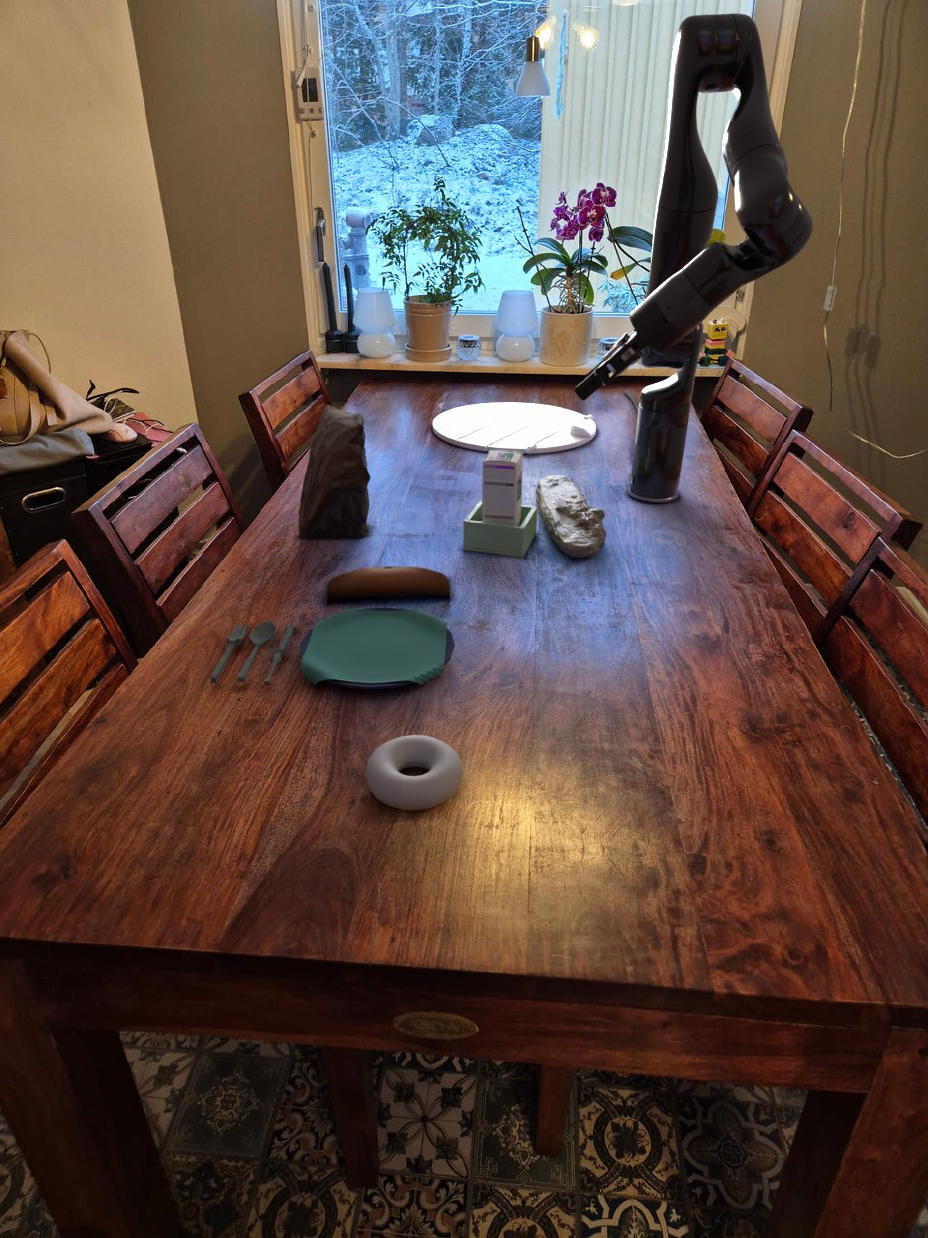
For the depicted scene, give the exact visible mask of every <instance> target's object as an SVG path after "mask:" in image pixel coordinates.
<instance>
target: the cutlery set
mask: <svg viewBox="0 0 928 1238" xmlns="http://www.w3.org/2000/svg"><path fill="white" fill-rule="evenodd" d="M249 625H250V624H249V623H246V624H245V623H244V622H242V623H241V622H237V624H236V626H235V628H234V629H233V630H232V632H231V633H230V634H229V635H228V637H226V643H227V646H226V649H225V651H224V654H223V655H222V657H221V659H220V661H219V662H218V664H217V666H216V667H215V668H214V670H213V672H212V674H211V676H210V677H209V680H210V684H217V682H218V681H219V679H220V676H221V675H222V672H223V671H224V669H225V667H226V666H227V664H228V662H229V660H230V658H231V655H232V653H233V651H234V648H237V647H238V646H240V645H241V644H243V641H244V638H245V635H246V633H247V630H248V628H249ZM276 629H277V627H276V625H275V624H274V622H272V621H263V622H261V623H259V624H257V625H256V626H254V628H253V629H252V630H251V631H250V632H249V633H250V634H249V639H250V641H251V642H252V643H253V644H254V645H255V647H254V648H253V650H252V652H251V653H250V655H249V656H248V657H247V660H246V662H245V663H244V665H243V667H242V669H241V670H240V673H239V675H238V676H237V683H246V680H247V677H248V674H249V672H250V671H251V670H250V669H251V667H252V666H253V665H252V664H253V662H254V660H255V658H256V656H257V653H258V651H259V649H260V648H261V647H262V646H263V645H264V644H266V643H268V642H270V641H272V640H273V638H274V637H275V636H276V632H277V631H276ZM293 632H294V625H293V623H291V622H289V623H288V625H287V627H286V630H285V631H284V635H283V637H282V640H281V642H280V644H279V647H278V648H277V649H274V654H272V663H271V666H270V669H269V673H268V675H267V677H266V679H265V680H264V681H263V684H264V687H270V686H271V680H272V676H273V674H274V671H275V670H276V669H277V668H276V667H277V665H278V663H279V662H281V661H282V658H284V657H285V650H286V648H287V647H288V645H289V643H290V640H291V637H292V636H293ZM455 648H456V644H455V640H454V636H453V633H452V632H451V631H450V629H449V628H448V622H446V621H445V620H443V619H441V618H439V617H438V616H436V615H434V614H432V613H430V612H427V611H425V610H423V609H419V608H410V609H408V608H399V607H388V606H384V607H383V606H382V607H366V608H347V609H345V610H342V611H340V612H337V613H334V614H333V615H329V616H327V617H325V618H322V619H321V620H318V621H316V622H315V623H314V625H313V627H312V628H311V629H309V630H308V631H307V632H306V634H305V636H304V637H303V639H301V641H300V647H299V657H300V660H301V662H300V669H301V673H302V675H303V676H304V677H305V678H306V680H308V681H309V682H310V683H311V684H313V685H315V686H316V685H317V684H318V683H319V682H321V681H324V682H326V683H327V682H328V683H330V684H333V685H337V686H339V687H343V688H351V689H361V690H381V689H396V688H399V687H402V686H407V685H410V684H414V683H417V684H419V685H421V686H422V685H423V684H426V683H428V682H429V681H432V680H434V679H436V678H438V677H441V675H442V673H443V672H444V667H445V665H447V663H448V662H450V661H451V658H452V656H453V652H454V650H455Z"/></svg>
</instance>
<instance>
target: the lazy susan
mask: <svg viewBox="0 0 928 1238" xmlns="http://www.w3.org/2000/svg"><path fill="white" fill-rule="evenodd" d="M593 419H594V415H592V414H590V413H589V414H587V415H584V414H582V413H580V412H577V411H574V410H571V409H567V408H563V407H560V406H554V405H549V404H541V403H532V402H511V401H509V402H507V401H506V402H485V403H484V402H483V403H474V404H468V405H462V406H458V407H453V408H451V409H448V410H445V411H443V412H441V413H440V414H437V416H435V418H433V420H432V431H433V433H434V435H436V436H437V437H438V438H439V439H441V440H443V441H445V442H447V443H448V444H452V445H455V446H457V447H460V448H465V449H468V450H474V451H479V452H487V453H489V451H490V450H491V451H495V450H506V451H515V452H521V453H522V454H523V455H524V454H527V455H534V454H545V453H554V452H555V453H556V452H561V451H566V450H571V449H575V448H578V447H581V446H583V445H585V444H588V443H589V442H590V441H592V440H593V439H594V438H595V436H596V432H597V425H596V423H595V422H594V420H593Z"/></svg>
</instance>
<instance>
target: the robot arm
mask: <svg viewBox="0 0 928 1238" xmlns="http://www.w3.org/2000/svg"><path fill="white" fill-rule="evenodd" d="M758 30H759V29H758V26H757V25H756V23H755V21H754V19H753V18H752V17H751V16H749V15H747V14H745V13H739V12H738V13H735V12H733V13H732V12H731V13H715V14H696V15H689V16H686V17H685V18H684V19H683V21H681V23H680V25H679V27H678V30H677V32H676V35H675V40H674V45H673V50H672V59H671V67H670V68H671V69H670V81H669V95H668V96H669V99H668V113H667V114H668V115H667V127H666V128H667V129H666V139H665V149H664V158H663V163H662V171H661V178H660V184H659V190H658V196H657V203H656V211H655V219H654V226H653V227H654V228H653V235H652V236H653V237H652V248H651V257H650V266H649V273H648V274H649V275H648V281H647V287H646V292H645V298H644V300H643V301H642V302H640V304H638V305H637V306H636V307H635V308H634V309H633V310H632V311H630V313H629V320H630V323H631V325H632V327H633V330H632V331H631V332H630V333H628V332H625V333H624V334H623V335H622V336H620V338H618V340H617V341H616V342H615V343H614V344H613V345H612V346H611V347H610V348H609V349H608V352H607V353H606V354H604V356H603V357H602V358H601V361H599V362H598V363H597V364H596V365H595V366H594V367H593V368H591V369H590V370H589V371H587V373H586V374H585V375H584V380H583V381H581V382H580V383H579V384H578V385H577V386H575V388H574V393H575V394H576V395H577V397H578V398H579V399H580V400H581V401H586V400H587V399H588V398H589V397H590V396H592V395H593V394H594V393H595V392H596V391H598V390H599V389H600V388H601V387H602V386H607V385H609V384H610V383H611V381H612V380H614V378H616V377H619V376H620V375H622V374H623V373H624V372H625V371H626V370H628V368H630V366H633V365H634V364H636V363H637V362H638V364H639V366H641V367H643V368H648V369H667V370H668V369H670V370H676V371H675V372H674V373H673V374H672V375H671V376H670V377H668V378H666V379H664V380H661V381H659V382H656V383H653V384H650V385H647V386H645V387H644V388H642V389H641V391H640V393H639V401H638V402H637V401H636V399H635V398H634V397H633V395H632V394H631V393H630V392H629V391H628V390H627V389H623V392H624V394H625V395H626V396H627V397H628V399H629V400H630V401H631V403H632V404H633V406H634V407H635V409H636V412H637V420H636V421H637V422H636V430H635V436H634V443H633V451H632V463H631V470H630V471H631V473H630V472H628V481H629V487H628V495H629V496H630V497H631V498H633V499H635V500H638V501H641V502H645V503H655V504H665V503H670V502H673V501H676V500H677V499H678V497H679V487H680V481H681V474H682V468H683V461H684V454H685V448H686V441H687V433H688V427H689V419H690V412H691V406H692V399H693V391H694V385H695V379H696V373H697V368H698V363H699V357H700V353H701V347H702V343H703V334H704V325H703V324H704V323H703V322H704V320H706V319H707V317H708V316H709V315H710V314H711V313H712V312H713V311H714V310H715V309H717V308H718V307H719V306H720V305H721V304H723V303H724V302H725V301H726V300H727V299H729V298H730V297H731V296H732V295H734V293H735V292H736V291H737V290H739V289H740V288H741V287H744V286H746V285H748V284H750V283H752V282H754V281H756V280H758V279H760V278H762V277H765V276H766V275H768V274H770V273H771V272H773V271H775V270H777V269H778V268H781V267H782V266H784V265H786V264H787V263H789V262H790V261H792V260H793V259H794V258H795V257H796V256H797V255H799V254H800V252H802V251H803V249H805V247H806V246H807V244H808V243H809V240H810V239H811V237H812V234H813V231H814V220H813V218H812V217H813V216H812V215H811V213H810V212H809V211H808V209H807V207H806V205H804V203H803V202H802V201H801V198H799V196H798V195H797V193H796V192H795V190H794V189H793V187H792V185H791V183H790V181H789V179H788V175H789V165H788V161H787V157H786V154H785V151H784V149H783V146H782V143H781V140H780V137H779V134H778V132H777V129H776V127H775V124H774V120H773V115H772V111H771V105H770V98H769V89H768V80H767V74H766V73H767V72H766V68H765V62H764V54H763V53H764V52H763V49H762V41H761V37H760V33H759V31H758ZM727 92H732V93H733V94H734V96H735V97H736V99H737V103H736V105H735V107H734V110H733V113H732V114H731V117H730V119H729V120H728V123H727V125H726V127H725V131H724V134H723V139H722V155H723V160H724V164H725V167H726V170H727V174H728V176H729V180H730V182H731V185H732V187H733V199H734V210H735V215H736V218H737V221H738V223H739V226H740V228H741V229H742V232H743V233H744V234H745V236H746V237H747V238H746V239H745V240H742V241H741V242H739V243H737V244H735V245H731V244H728V243H727V242H724V241H720V240H717V241H716V240H715V241H713V242H712V243H710V244H709V242H710V240H711V238H712V235H713V229H714V224H715V219H716V218H715V217H716V212H717V208H718V207H717V206H718V201H719V187H718V183H717V179H716V177H715V174H714V171H713V169H712V166H711V164H710V161H709V158H708V157H707V154H706V152H705V150H704V147H703V145H702V142H701V138H700V133H699V130H698V121H697V120H698V118H697V114H698V113H697V110H698V109H697V108H698V99H699V94H714V93H727ZM708 244H709V245H708Z"/></svg>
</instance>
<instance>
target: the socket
mask: <svg viewBox="0 0 928 1238" xmlns="http://www.w3.org/2000/svg"><path fill="white" fill-rule="evenodd" d="M537 522H538V506H536V505H535V506H534V505H528V504H527V505H526V504H521V526H512V525H504V524H496V523H488V522H482V499H480V500H479V501H478V502H477V504H476V505H475V506H474V507H473V509H472V510H471V511H470V513H468V515H467V516H466V518H465V519H464V520H463V534H462V535H463V537H462V539H463V540H462V541H463V542H462V543H463V546H462V548H463V551H470V552H476V553H477V552H478V553H484V554H492V555H500V556H507V557H515V558H522V559H523V558H524V556H525V555H526V552H527V550H528V549H529V547H530V546H531V544H532V543H533V540H534V539H535V537H536V535H537V524H538V523H537Z"/></svg>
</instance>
